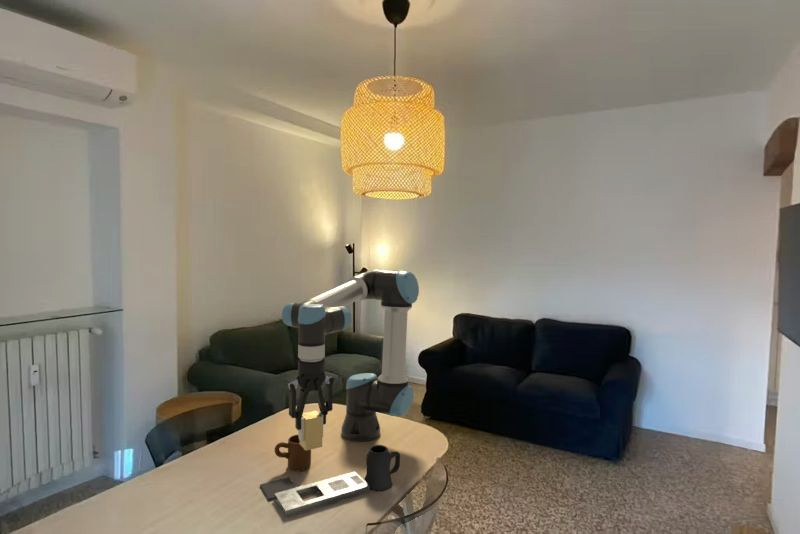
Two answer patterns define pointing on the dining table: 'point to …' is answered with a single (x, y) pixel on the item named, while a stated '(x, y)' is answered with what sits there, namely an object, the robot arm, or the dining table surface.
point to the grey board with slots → (321, 493)
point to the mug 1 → (294, 454)
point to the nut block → (312, 430)
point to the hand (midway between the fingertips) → (310, 437)
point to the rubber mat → (277, 487)
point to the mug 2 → (380, 468)
